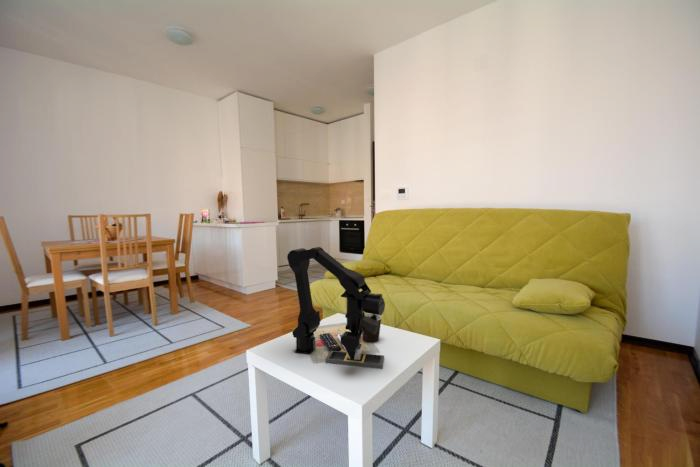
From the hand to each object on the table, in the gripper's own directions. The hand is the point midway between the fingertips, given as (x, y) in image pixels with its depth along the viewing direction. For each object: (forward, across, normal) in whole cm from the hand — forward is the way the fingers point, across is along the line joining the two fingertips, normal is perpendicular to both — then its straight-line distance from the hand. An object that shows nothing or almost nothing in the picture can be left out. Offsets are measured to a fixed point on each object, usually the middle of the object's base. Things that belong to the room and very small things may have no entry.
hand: (355, 353), depth 105 cm
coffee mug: (+4, +20, -3) cm, 21 cm away
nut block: (+3, 0, 0) cm, 3 cm away
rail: (+4, 0, 0) cm, 4 cm away
